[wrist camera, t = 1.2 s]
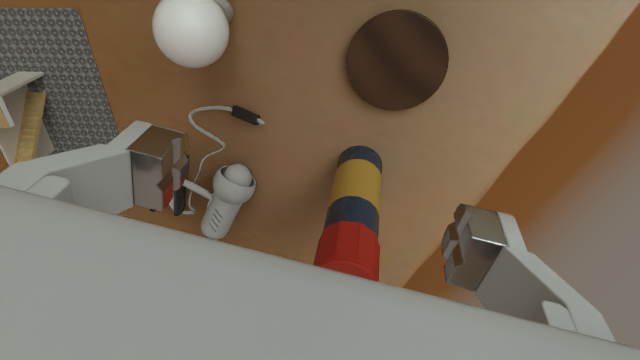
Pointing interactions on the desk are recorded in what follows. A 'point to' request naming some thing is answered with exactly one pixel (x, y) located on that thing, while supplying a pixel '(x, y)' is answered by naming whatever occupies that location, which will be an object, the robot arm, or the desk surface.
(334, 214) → the spray can
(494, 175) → the desk surface
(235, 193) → the clip-on lamp
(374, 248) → the cap
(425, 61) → the coaster
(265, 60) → the desk surface
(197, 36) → the lightbulb
